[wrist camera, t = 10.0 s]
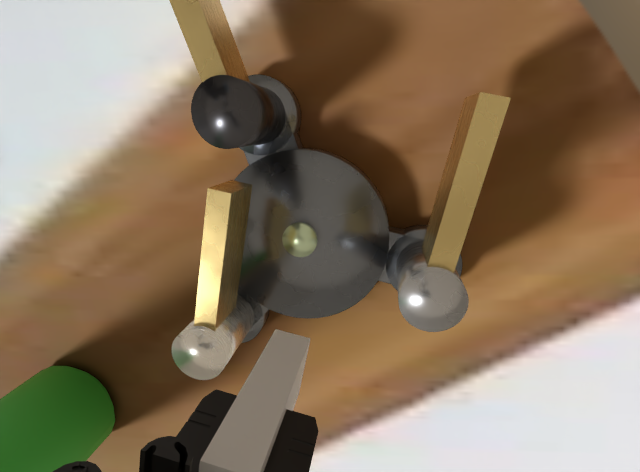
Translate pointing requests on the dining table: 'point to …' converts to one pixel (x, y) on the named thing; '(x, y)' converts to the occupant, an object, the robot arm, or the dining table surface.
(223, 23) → the black and tan lever
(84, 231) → the dining table surface
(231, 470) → the robot arm
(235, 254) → the lever
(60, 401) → the bottle
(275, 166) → the tribrach plate
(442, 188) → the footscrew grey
